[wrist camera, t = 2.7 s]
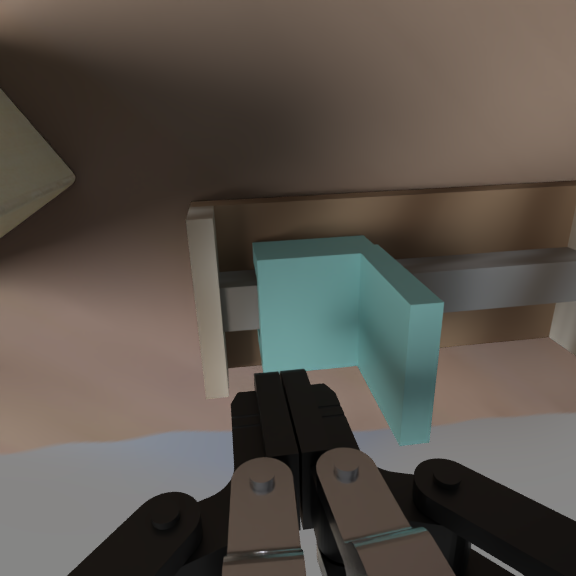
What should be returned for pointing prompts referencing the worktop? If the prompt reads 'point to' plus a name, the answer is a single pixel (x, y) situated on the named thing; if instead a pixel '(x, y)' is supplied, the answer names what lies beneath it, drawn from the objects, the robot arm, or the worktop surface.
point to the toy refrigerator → (26, 168)
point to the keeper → (352, 322)
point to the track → (409, 238)
